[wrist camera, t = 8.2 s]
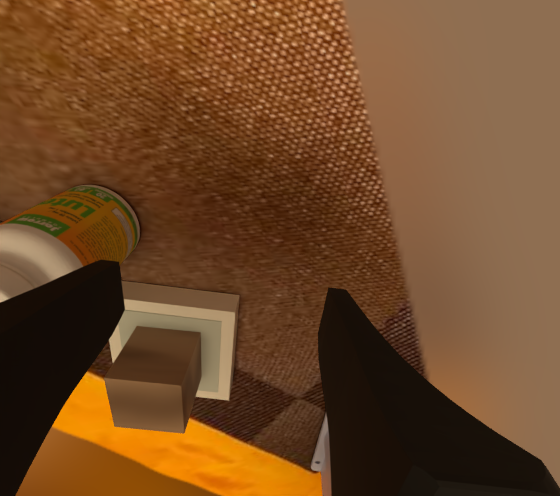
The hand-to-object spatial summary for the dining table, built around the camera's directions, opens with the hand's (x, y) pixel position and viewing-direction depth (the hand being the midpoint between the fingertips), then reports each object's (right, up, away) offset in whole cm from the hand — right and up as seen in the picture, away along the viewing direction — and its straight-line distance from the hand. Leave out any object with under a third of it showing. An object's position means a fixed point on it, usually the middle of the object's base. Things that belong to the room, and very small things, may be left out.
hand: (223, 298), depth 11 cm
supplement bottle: (-10, +4, +11) cm, 15 cm away
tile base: (-6, -5, +15) cm, 17 cm away
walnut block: (-6, -6, +13) cm, 15 cm away
